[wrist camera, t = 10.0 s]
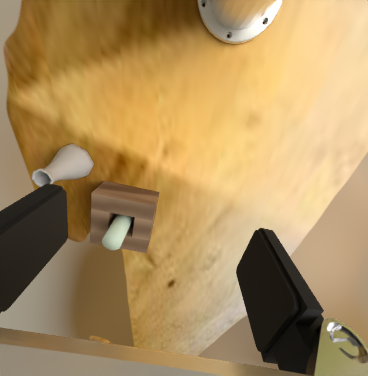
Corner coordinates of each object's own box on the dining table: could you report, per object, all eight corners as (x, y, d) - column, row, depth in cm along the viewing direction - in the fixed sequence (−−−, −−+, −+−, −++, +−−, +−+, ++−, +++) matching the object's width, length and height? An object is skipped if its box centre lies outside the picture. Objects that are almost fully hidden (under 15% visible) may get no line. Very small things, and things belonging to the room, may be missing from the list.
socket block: (104, 180, 41) (91, 192, 35) (159, 192, 42) (155, 205, 36) (101, 225, 45) (90, 242, 40) (151, 235, 46) (146, 253, 41)
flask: (100, 164, 39) (74, 183, 30) (78, 184, 41) (47, 207, 32) (73, 136, 37) (35, 147, 28) (50, 158, 39) (8, 175, 30)
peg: (120, 204, 42) (102, 233, 33) (136, 207, 42) (122, 237, 33) (119, 216, 43) (101, 248, 34) (134, 219, 43) (120, 251, 34)
